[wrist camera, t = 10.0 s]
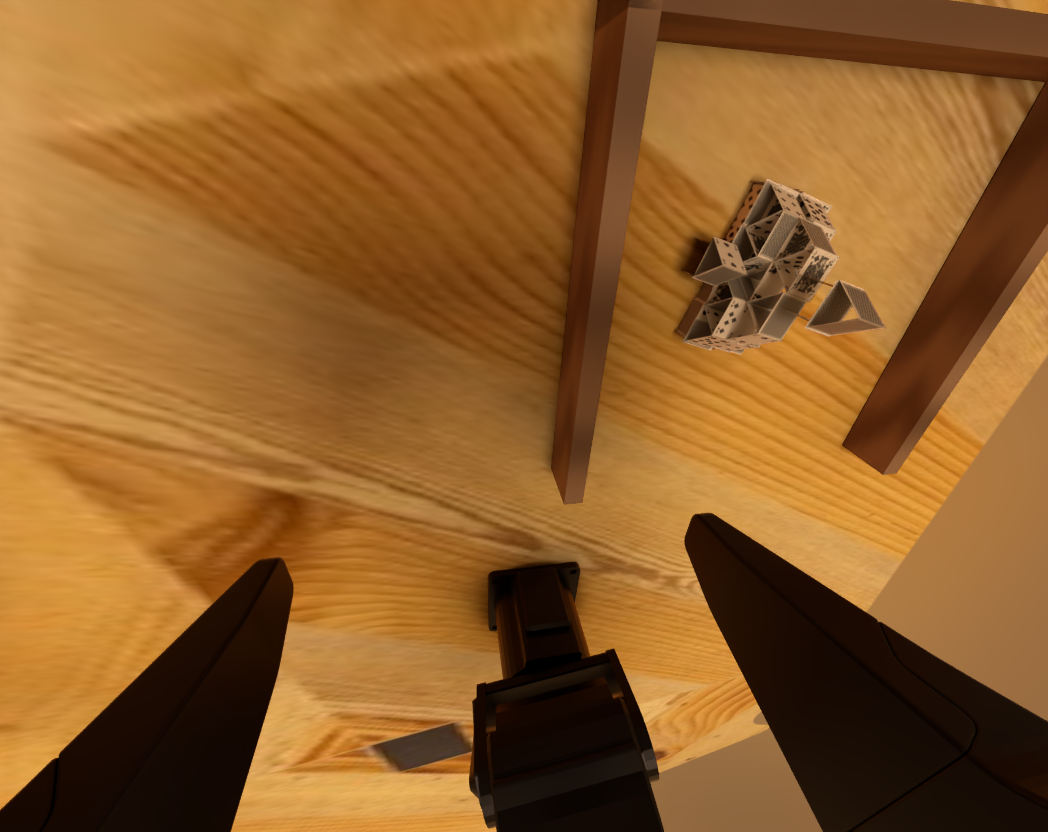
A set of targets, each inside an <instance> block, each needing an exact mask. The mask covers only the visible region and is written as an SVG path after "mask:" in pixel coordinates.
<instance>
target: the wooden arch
mask: <svg viewBox="0 0 1048 832" xmlns="http://www.w3.org/2000/svg"><path fill="white" fill-rule="evenodd" d="M657 41H666V42H676V43H685V44H694V45H704V46H713V47H723V48H732V49H742V50H751V51H760V52H770V53H779V54H789V55H798V56H807V57H817V58H826V59H836V60H845V61H854V62H864V63H873V64H883V65H892V66H902V67H911V68H920V69H930V70H939V71H949V72H958V73H967V74H977V75H986V76H996V77H1005V78H1014V79H1024V80H1033V81H1043V82H1046V84H1045V86H1044V88H1043V90H1042V91H1041V93H1040V95H1039V97H1038V98H1037V100H1036V102H1035V104H1034V106H1033V107H1032V109H1031V111H1030V113H1029V114H1028V116H1027V118H1026V120H1025V122H1024V123H1023V125H1022V127H1021V129H1020V130H1019V132H1018V134H1017V136H1016V138H1015V139H1014V141H1013V143H1012V145H1011V147H1010V148H1009V150H1008V152H1007V154H1006V155H1005V157H1004V159H1003V161H1002V163H1001V164H1000V166H999V168H998V170H997V171H996V173H995V175H994V177H993V179H992V180H991V182H990V184H989V186H988V187H987V189H986V191H985V193H984V195H983V196H982V198H981V200H980V202H979V203H978V205H977V207H976V209H975V211H974V212H973V214H972V216H971V218H970V219H969V221H968V223H967V225H966V227H965V228H964V230H963V232H962V234H961V235H960V237H959V239H958V241H957V243H956V244H955V246H954V248H953V250H952V251H951V253H950V255H949V257H948V259H947V260H946V262H945V264H944V266H943V267H942V269H941V271H940V273H939V275H938V276H937V278H936V280H935V282H934V283H933V285H932V287H931V289H930V291H929V292H928V294H927V296H926V298H925V299H924V301H923V303H922V305H921V307H920V308H919V310H918V312H917V314H916V315H915V317H914V319H913V321H912V323H911V324H910V326H909V328H908V330H907V331H906V333H905V335H904V337H903V339H902V340H901V342H900V344H899V346H898V347H897V349H896V351H895V353H894V355H893V356H892V358H891V360H890V362H889V363H888V365H887V367H886V369H885V371H884V372H883V374H882V376H881V378H880V380H879V381H878V383H877V385H876V387H875V388H874V390H873V392H872V394H871V396H870V397H869V399H868V401H867V403H866V404H865V406H864V408H863V410H862V412H861V413H860V415H859V417H858V419H857V420H856V422H855V424H854V426H853V428H852V429H851V431H850V433H849V435H848V436H847V438H846V440H845V442H844V444H843V445H842V446H844V447H845V448H846V449H848V450H849V451H850V452H852V453H853V454H855V455H856V456H857V457H859V458H860V459H862V460H863V461H864V462H866V463H867V464H869V465H870V466H871V467H873V468H874V469H876V470H877V471H878V472H880V473H881V474H882V475H885V474H895V473H897V472H898V470H899V469H900V467H901V466H902V464H903V463H904V461H905V460H906V459H907V457H908V456H909V454H910V453H911V451H912V450H913V448H914V447H915V445H916V444H917V442H918V441H919V439H920V438H921V436H922V435H923V434H924V432H925V431H926V429H927V428H928V426H929V425H930V423H931V422H932V420H933V419H934V417H935V416H936V414H937V413H938V411H939V410H940V408H941V407H942V406H943V404H944V403H945V401H946V400H947V398H948V397H949V395H950V394H951V392H952V391H953V389H954V388H955V386H956V385H957V383H958V382H959V380H960V379H961V378H962V376H963V375H964V373H965V372H966V370H967V369H968V367H969V366H970V364H971V363H972V361H973V360H974V358H975V357H976V355H977V354H978V353H979V351H980V350H981V348H982V347H983V345H984V344H985V342H986V341H987V339H988V338H989V336H990V335H991V333H992V332H993V330H994V329H995V327H996V326H997V325H998V323H999V322H1000V320H1001V319H1002V317H1003V316H1004V314H1005V313H1006V311H1007V310H1008V308H1009V307H1010V305H1011V304H1012V302H1013V301H1014V299H1015V298H1016V297H1017V295H1018V294H1019V292H1020V291H1021V289H1022V288H1023V286H1024V285H1025V283H1026V282H1027V280H1028V279H1029V277H1030V276H1031V274H1032V273H1033V272H1034V270H1035V269H1036V267H1037V266H1038V264H1039V263H1040V261H1041V260H1042V258H1043V257H1044V255H1045V254H1046V252H1047V251H1048V14H1043V13H1036V12H1029V11H1021V10H1014V9H1007V8H1000V7H993V6H986V5H979V4H972V3H965V2H958V1H951V0H598V5H597V15H596V25H595V35H594V45H593V55H592V65H591V75H590V85H589V95H588V105H587V115H586V125H585V135H584V145H583V155H582V165H581V175H580V185H579V195H578V205H577V215H576V225H575V235H574V245H573V255H572V265H571V275H570V285H569V295H568V305H567V315H566V325H565V335H564V345H563V355H562V365H561V375H560V385H559V395H558V405H557V415H556V425H555V435H554V445H553V455H552V465H551V469H552V472H553V475H554V478H555V480H556V483H557V486H558V489H559V492H560V494H561V497H562V500H563V503H564V504H575V503H582V502H583V496H584V489H585V483H586V477H587V471H588V464H589V458H590V452H591V446H592V440H593V433H594V427H595V421H596V415H597V409H598V402H599V396H600V390H601V384H602V377H603V371H604V365H605V359H606V353H607V346H608V340H609V334H610V328H611V322H612V315H613V309H614V303H615V297H616V291H617V284H618V278H619V272H620V266H621V259H622V253H623V247H624V241H625V235H626V228H627V222H628V216H629V210H630V204H631V197H632V191H633V185H634V179H635V172H636V166H637V160H638V154H639V148H640V141H641V135H642V129H643V123H644V117H645V110H646V104H647V98H648V92H649V85H650V79H651V73H652V67H653V61H654V54H655V48H656V42H657Z"/></svg>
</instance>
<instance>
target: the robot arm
mask: <svg viewBox="0 0 1048 832" xmlns="http://www.w3.org/2000/svg"><path fill="white" fill-rule="evenodd" d="M684 542H685V547H686V550H687V553H688V555H689V558H690V561H691V563H692V566H693V568H694V571H695V573H696V576H697V578H698V581H699V583H700V586H701V589H702V591H703V594H704V596H705V599H706V601H707V603H708V606H709V608H710V610H711V612H712V614H713V617H714V619H715V621H716V623H717V625H718V627H719V628H720V630H721V632H722V634H723V636H724V638H725V640H726V642H727V644H728V646H729V648H730V650H731V652H732V654H733V656H734V658H735V660H736V662H737V664H738V666H739V668H740V670H741V672H742V674H743V676H744V678H745V680H746V682H747V683H748V685H749V687H750V689H751V691H752V693H753V695H754V697H755V699H756V701H757V703H758V705H759V707H760V709H761V711H762V713H763V715H764V717H765V719H766V721H767V723H768V725H769V727H770V729H771V731H772V733H773V734H774V737H775V738H776V740H777V742H778V744H779V746H780V748H781V750H782V752H783V754H784V756H785V758H786V760H787V762H788V764H789V766H790V768H791V770H792V772H793V774H794V776H795V778H796V780H797V782H798V784H799V786H800V788H801V790H802V791H803V793H804V795H805V797H806V799H807V801H808V803H809V805H810V807H811V809H812V811H813V813H814V815H815V817H816V819H817V821H818V823H819V825H820V827H821V829H822V831H823V832H1048V721H1046V720H1044V719H1043V718H1041V717H1039V716H1037V715H1036V714H1034V713H1032V712H1030V711H1029V710H1027V709H1025V708H1023V707H1022V706H1020V705H1018V704H1016V703H1015V702H1013V701H1011V700H1010V699H1008V698H1006V697H1004V696H1002V695H1001V694H999V693H997V692H996V691H994V690H992V689H990V688H989V687H987V686H985V685H983V684H982V683H980V682H978V681H976V680H975V679H973V678H971V677H970V676H968V675H966V674H965V673H963V672H961V671H959V670H958V669H956V668H954V667H953V666H951V665H949V664H948V663H946V662H944V661H942V660H941V659H939V658H938V657H936V656H934V655H933V654H931V653H929V652H928V651H926V650H925V649H923V648H921V647H920V646H918V645H917V644H915V643H913V642H912V641H910V640H909V639H907V638H905V637H904V636H902V635H901V634H899V633H897V632H896V631H894V630H893V629H891V628H890V627H888V626H887V625H885V624H883V623H882V622H878V621H877V619H876V618H874V617H873V616H871V615H869V614H868V613H866V612H865V611H863V610H862V609H860V608H859V607H857V606H855V605H854V604H852V603H851V602H849V601H848V600H846V599H845V598H843V597H842V596H840V595H838V594H837V593H835V592H834V591H832V590H831V589H829V588H828V587H826V586H824V585H823V584H821V583H820V582H818V581H817V580H815V579H814V578H812V577H810V576H809V575H807V574H806V573H804V572H803V571H801V570H800V569H798V568H797V567H795V566H793V565H792V564H790V563H789V562H787V561H786V560H784V559H783V558H781V557H779V556H778V555H776V554H775V553H773V552H772V551H770V550H769V549H767V548H765V547H764V546H762V545H761V544H759V543H758V542H756V541H755V540H753V539H751V538H750V537H748V536H747V535H745V534H744V533H742V532H741V531H739V530H738V529H736V528H734V527H733V526H731V525H730V524H728V523H727V522H725V521H724V520H722V519H720V518H719V517H717V516H716V515H714V514H712V513H701V514H695V515H694V516H693V517H692V518H691V521H690V524H689V527H688V529H687V532H686V535H685V540H684ZM579 575H580V568H579V565H578V564H577V563H565V564H556V565H548V566H539V567H531V568H522V569H514V570H506V571H497V572H492V573H491V574H489V576H488V625H489V630H490V631H497V633H498V641H499V649H500V658H501V666H502V674H503V680H499V681H495V682H491V683H488V684H486V682H485V683H481V684H477V698H475V699H474V700H473V701H472V704H473V721H474V737H473V747H472V756H471V765H470V774H469V785H470V790H471V792H472V793H473V794H474V795H475V796H476V797H477V798H479V802H480V806H481V809H482V811H483V816H484V819H485V823H486V825H487V827H488V828H489V829H490V828H493V827H496V830H497V832H664V829H663V825H662V822H661V818H660V815H659V812H658V808H657V805H656V801H655V798H654V794H653V791H652V788H651V784H650V783H651V782H654V781H658V780H659V772H658V766H657V762H656V758H655V754H654V750H653V747H652V743H651V740H650V737H649V734H648V731H647V728H646V725H645V722H644V719H643V716H642V714H641V711H640V709H639V706H638V704H637V702H636V699H635V697H634V695H633V692H632V690H631V687H630V685H629V683H628V680H627V678H626V676H625V673H624V671H623V669H622V666H621V664H620V661H619V659H618V657H617V654H616V652H615V650H614V649H610V650H606V652H605V653H601V654H598V655H594V656H590V653H589V650H588V647H587V643H586V640H585V637H584V633H583V630H582V627H581V623H580V620H579V617H578V613H577V610H576V607H575V597H576V592H577V586H578V581H579ZM292 598H293V582H292V579H291V577H290V574H289V572H288V569H287V567H286V564H285V562H284V560H283V559H282V558H279V557H277V558H267V559H260V560H258V561H257V562H255V563H254V564H253V565H252V566H251V567H250V568H249V569H248V570H247V571H246V572H245V573H244V574H243V575H242V576H241V577H240V578H239V579H238V580H237V581H236V582H235V583H234V584H233V585H232V586H230V587H229V588H228V589H227V590H226V591H225V592H224V593H223V594H222V595H221V596H220V597H219V598H218V599H217V600H216V601H215V602H214V603H213V604H212V605H211V606H210V607H209V608H208V609H207V610H206V611H205V612H204V613H203V614H202V615H201V616H200V617H199V618H198V619H197V620H196V621H195V622H194V623H193V624H191V625H190V626H189V627H188V628H187V629H186V630H185V631H184V632H183V633H182V634H181V635H180V636H179V637H178V638H177V639H176V640H175V641H174V642H173V643H172V644H171V645H170V646H169V647H168V648H167V649H166V650H165V651H164V652H163V653H162V654H161V655H160V656H159V657H158V658H157V659H156V660H155V661H153V662H152V663H151V664H150V665H149V666H148V667H147V668H146V669H145V670H144V671H143V672H142V673H141V674H140V675H139V676H138V677H137V678H136V679H135V680H134V681H133V682H132V683H131V684H130V685H129V686H128V687H127V688H126V689H125V690H124V691H123V692H122V693H121V694H120V695H119V696H118V697H117V698H115V699H114V700H113V701H112V702H111V703H110V704H109V705H108V706H107V707H106V708H105V709H104V710H103V711H102V712H101V713H100V714H99V715H98V716H97V717H96V718H95V719H94V720H93V721H92V722H91V723H90V724H89V725H88V726H87V727H86V728H85V729H84V730H83V731H82V732H81V733H80V734H79V735H77V736H76V737H75V738H74V739H73V740H72V741H71V742H70V743H69V744H68V745H67V746H66V747H65V748H64V749H63V750H62V751H61V752H60V754H59V758H55V759H53V760H52V761H51V762H50V763H48V764H47V765H46V766H45V767H44V768H43V769H42V770H41V771H40V772H39V773H38V774H37V775H36V776H35V777H34V778H33V779H32V780H31V781H30V782H29V783H28V784H27V785H26V786H25V787H24V788H23V789H22V790H21V791H20V792H19V793H18V794H16V795H15V796H14V797H13V798H12V799H11V800H10V801H9V802H8V803H7V804H6V805H5V806H4V807H3V808H2V809H1V810H0V832H231V829H232V826H233V823H234V819H235V816H236V813H237V809H238V806H239V803H240V799H241V796H242V793H243V789H244V786H245V783H246V779H247V776H248V773H249V769H250V766H251V763H252V759H253V756H254V753H255V749H256V746H257V743H258V739H259V736H260V733H261V729H262V726H263V723H264V719H265V716H266V713H267V709H268V706H269V703H270V699H271V696H272V693H273V689H274V686H275V682H276V679H277V675H278V671H279V666H280V662H281V657H282V651H283V646H284V640H285V635H286V630H287V624H288V619H289V614H290V608H291V603H292Z"/></svg>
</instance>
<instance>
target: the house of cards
mask: <svg viewBox="0 0 1048 832" xmlns="http://www.w3.org/2000/svg"><path fill="white" fill-rule="evenodd" d="M750 182H752V183H754V185H753V187H752V189H751V190H750V192H749V194H748V196H747V198H746V200H745V202H744V204H743V206H742V208H741V209H740V211H739V213H738V215H737V217H736V219H735V221H734V223H733V225H732V227H731V229H730V231H729V232H728V234H727V236H726V238H725V240H722V239H720V238H717V237H715V236H713V239H712V241H711V243H709V242H706V241H703V240H701V241H703V242H706V243H708V244H710V245H709V247H708V249H707V251H706V253H705V255H704V257H703V259H702V261H701V262H700V264H699V266H698V268H697V270H696V272H695V274H691V273H688V272H686V273H688V274H690V275H692V276H693V277H691V278H694V279H696V280H699V281H702V282H705V283H704V285H703V287H702V288H701V290H700V292H699V294H698V296H697V298H695V297H694V299H693V301H692V303H691V305H690V307H689V309H688V311H687V312H686V314H685V316H684V318H683V320H682V322H681V324H680V326H679V328H678V330H677V331H676V330H675V331H676V332H677V333H679V334H680V335H682V336H683V337H685V338H684V340H683V342H684V343H687V344H691V345H694V346H697V347H701V348H704V349H708V350H712V349H715V348H716V349H720V350H723V351H726V352H730V353H731V352H733V353H737V354H740V355H741V354H742V352H743V351H744V349H750V348H759V346H760V345H761V344H765V343H771V342H778V341H782V338H783V337H784V335H785V334H786V332H787V331H788V329H789V328H790V326H791V325H792V323H793V322H794V320H795V319H796V317H797V316H798V317H801V318H803V319H805V320H807V321H809V322H808V324H807V325H806V327H805V328H806V329H809V330H811V331H814V332H817V333H820V334H823V335H826V336H833V335H840V334H847V333H854V332H861V331H869V330H876V329H883V328H885V326H884V325H883V323H882V321H881V319H880V317H879V315H878V314H877V312H876V310H875V308H874V306H873V305H872V303H871V301H870V299H869V297H868V296H867V294H866V292H865V290H864V289H861V288H859V287H857V286H854V285H852V284H849V283H847V282H844V281H842V280H839V281H836V282H835V284H834V285H831V284H828V283H825V282H823V281H824V280H825V278H826V277H827V275H828V274H829V272H830V271H831V269H832V268H833V266H834V265H835V263H836V262H837V260H838V259H839V258H840V257H839V256H837V254H836V252H835V251H834V249H833V247H832V245H831V243H830V241H831V239H832V238H833V236H834V235H835V233H836V230H835V228H834V226H833V224H832V223H831V221H830V219H829V217H828V216H827V214H828V212H829V211H830V209H831V208H832V206H831V205H829V204H826V203H824V202H822V201H820V200H818V199H816V198H814V197H812V196H810V195H808V194H806V193H804V191H799V189H791V188H789V187H787V186H785V185H783V184H781V183H780V185H779V184H777V183H775V182H773V181H771V180H769V179H767V181H766V182H765V183H764V182H756V181H750ZM747 226H748V227H747ZM698 240H700V239H698ZM679 270H680V269H679ZM681 271H683V270H681ZM684 272H685V271H684ZM822 283H823V284H826V285H829V286H832V288H831V290H830V291H829V293H828V294H827V296H826V297H825V299H824V300H823V302H822V303H821V305H820V306H819V307H818V309H817V310H816V312H815V313H814V315H813V316H812V318H811V319H808V318H806V317H803V316H801V315H799V313H800V311H801V310H802V308H803V307H804V305H805V304H806V302H810V301H811V300H812V298H813V297H814V295H815V293H816V292H817V290H818V289H819V287H820V286H821V284H822ZM784 288H785V290H786V292H787V293H785V292H782V290H783V289H784ZM852 307H854V309H855V311H856V313H857V315H858V317H859V318H857V319H852V320H846V321H843V319H844V318H845V317H846V315H847V314H848V312H849V311H850V310H851V308H852ZM885 329H886V328H885Z"/></svg>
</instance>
